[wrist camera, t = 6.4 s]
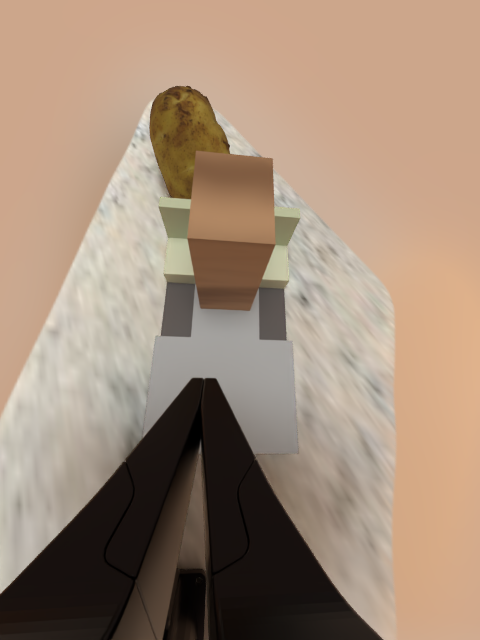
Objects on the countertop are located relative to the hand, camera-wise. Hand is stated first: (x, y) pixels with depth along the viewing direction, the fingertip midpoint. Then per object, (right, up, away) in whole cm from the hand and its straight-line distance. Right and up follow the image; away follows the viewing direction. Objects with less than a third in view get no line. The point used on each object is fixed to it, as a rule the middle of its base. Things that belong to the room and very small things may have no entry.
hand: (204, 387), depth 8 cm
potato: (-4, +17, +20) cm, 26 cm away
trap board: (0, +1, +15) cm, 15 cm away
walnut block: (0, +6, +14) cm, 15 cm away
